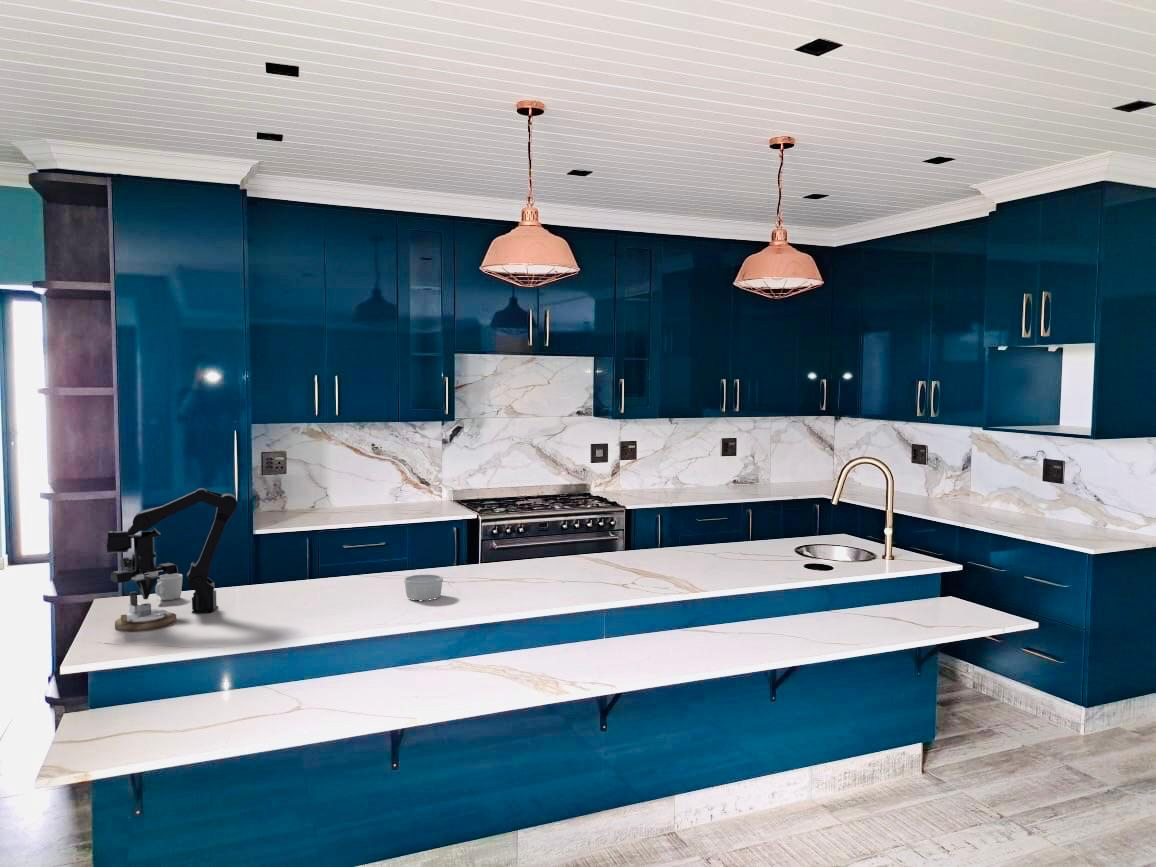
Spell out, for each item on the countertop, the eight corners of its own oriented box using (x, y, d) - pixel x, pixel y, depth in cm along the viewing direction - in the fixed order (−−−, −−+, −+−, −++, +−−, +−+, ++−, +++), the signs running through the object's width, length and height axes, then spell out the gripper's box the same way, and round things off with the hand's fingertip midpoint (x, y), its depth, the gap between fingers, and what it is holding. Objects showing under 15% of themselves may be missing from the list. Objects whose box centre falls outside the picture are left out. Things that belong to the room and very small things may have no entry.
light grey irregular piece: (174, 617, 262) (173, 595, 261) (133, 625, 252) (133, 603, 252) (152, 609, 272) (151, 588, 271) (112, 616, 262) (111, 595, 262)
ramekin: (437, 591, 301) (437, 572, 301) (447, 600, 289) (447, 580, 289) (400, 595, 295) (400, 576, 295) (409, 604, 283) (409, 584, 283)
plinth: (184, 615, 270) (184, 601, 270) (163, 630, 253) (163, 615, 253) (129, 616, 269) (129, 603, 268) (104, 632, 252) (104, 617, 251)
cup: (167, 604, 284) (166, 581, 284) (146, 603, 286) (145, 579, 285) (188, 596, 295) (187, 574, 294) (168, 595, 296) (167, 573, 296)
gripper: (162, 543, 280) (163, 590, 281) (102, 552, 266) (103, 600, 267) (178, 547, 273) (179, 595, 274) (117, 556, 259) (118, 606, 260)
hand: (145, 599), depth 269 cm, fingers closed
